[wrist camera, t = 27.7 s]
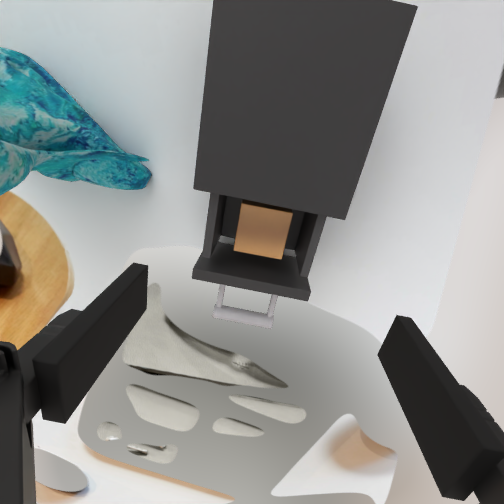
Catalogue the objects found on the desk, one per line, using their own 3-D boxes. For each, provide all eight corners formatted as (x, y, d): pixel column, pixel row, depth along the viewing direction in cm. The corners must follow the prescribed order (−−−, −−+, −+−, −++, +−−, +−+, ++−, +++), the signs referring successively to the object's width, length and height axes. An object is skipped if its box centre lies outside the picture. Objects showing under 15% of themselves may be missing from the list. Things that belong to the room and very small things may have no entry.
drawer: (288, 307, 38) (292, 348, 31) (201, 290, 38) (185, 328, 31) (332, 156, 30) (352, 165, 23) (223, 133, 30) (209, 135, 23)
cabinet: (324, 196, 33) (345, 220, 24) (213, 173, 32) (193, 189, 24) (369, 46, 27) (418, 5, 18) (234, 16, 26) (217, -40, 18)
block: (279, 242, 33) (281, 260, 29) (238, 234, 33) (233, 250, 28) (289, 200, 31) (293, 213, 27) (245, 192, 31) (241, 203, 26)
